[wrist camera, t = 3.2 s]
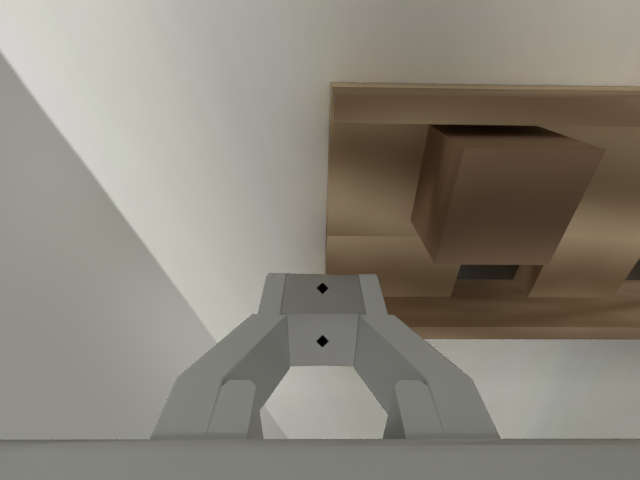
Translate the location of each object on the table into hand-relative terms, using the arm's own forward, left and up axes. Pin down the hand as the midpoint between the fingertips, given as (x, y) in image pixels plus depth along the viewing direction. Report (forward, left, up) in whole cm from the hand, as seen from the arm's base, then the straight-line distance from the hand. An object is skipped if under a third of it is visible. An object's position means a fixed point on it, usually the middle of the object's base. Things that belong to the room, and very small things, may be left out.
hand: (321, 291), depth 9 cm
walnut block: (-1, +7, -8) cm, 11 cm away
